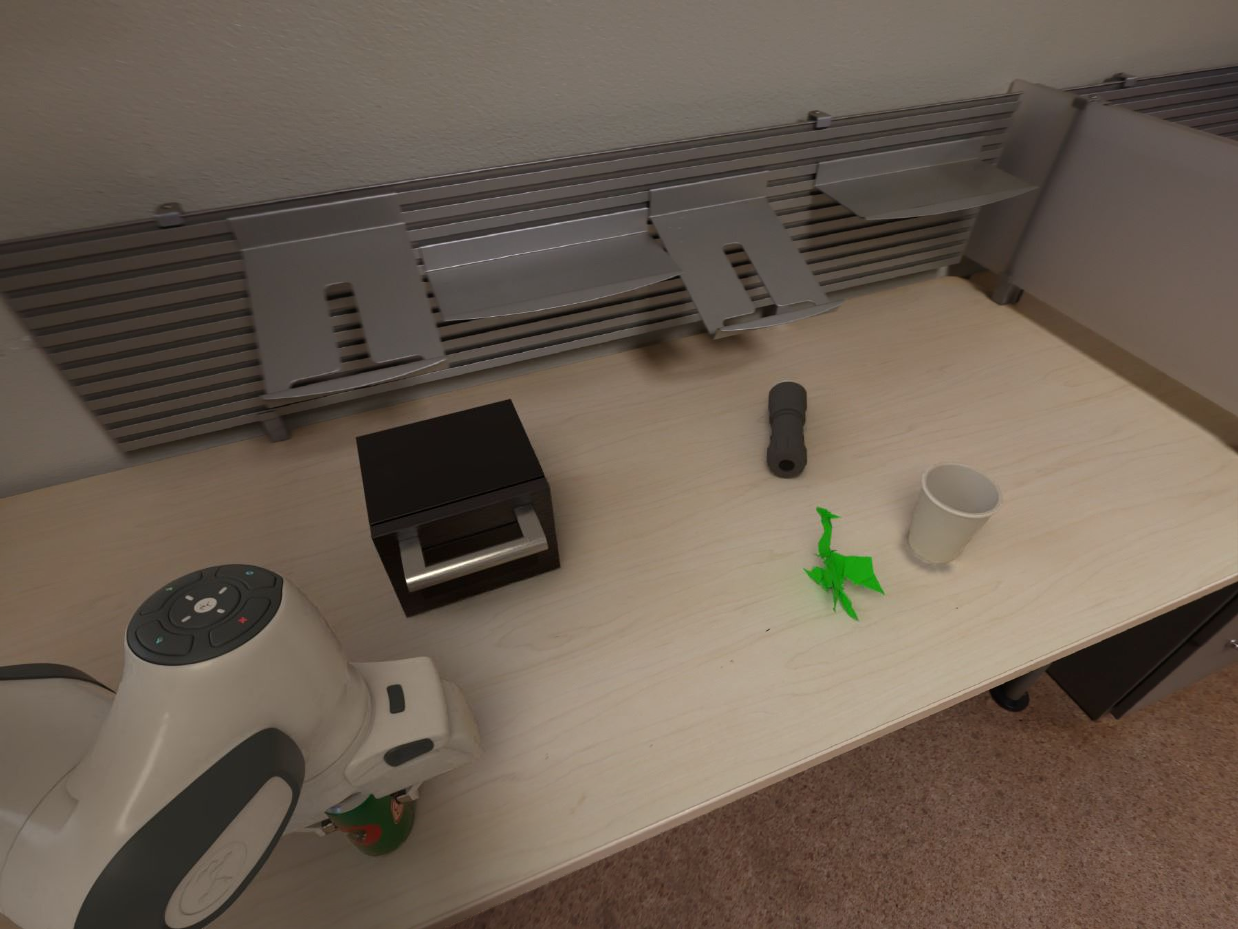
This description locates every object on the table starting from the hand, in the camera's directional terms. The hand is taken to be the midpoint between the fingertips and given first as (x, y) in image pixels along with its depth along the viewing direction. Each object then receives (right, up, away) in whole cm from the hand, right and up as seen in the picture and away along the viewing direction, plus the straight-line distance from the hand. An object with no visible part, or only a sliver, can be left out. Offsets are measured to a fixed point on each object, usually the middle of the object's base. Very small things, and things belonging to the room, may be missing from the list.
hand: (370, 807), depth 53 cm
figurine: (+45, +14, +21) cm, 51 cm away
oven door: (+6, +13, +19) cm, 24 cm away
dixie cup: (+58, +19, +25) cm, 66 cm away
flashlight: (+44, +32, +38) cm, 66 cm away
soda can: (0, -3, +3) cm, 5 cm away
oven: (+2, +19, +27) cm, 33 cm away
